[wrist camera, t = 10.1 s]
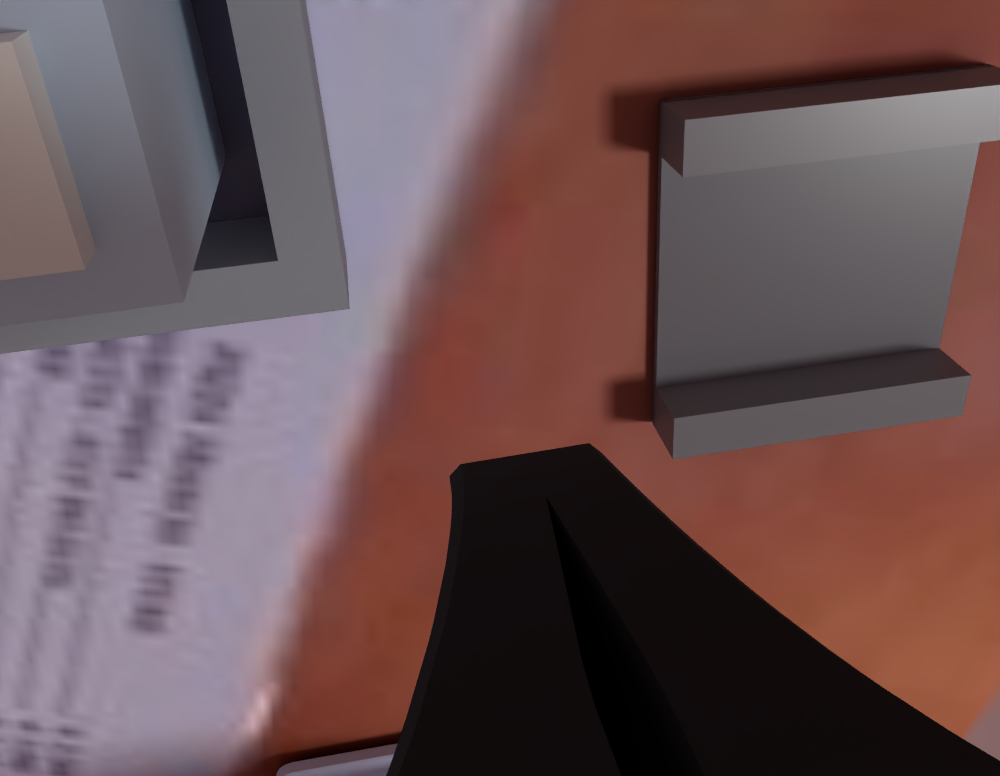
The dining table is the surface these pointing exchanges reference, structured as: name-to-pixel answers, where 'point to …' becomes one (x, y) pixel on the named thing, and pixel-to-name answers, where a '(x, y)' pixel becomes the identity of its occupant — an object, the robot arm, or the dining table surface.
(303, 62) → the port
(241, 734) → the dining table surface
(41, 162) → the plug
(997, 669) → the dining table surface
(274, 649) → the dining table surface
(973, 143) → the grey ridged plate
